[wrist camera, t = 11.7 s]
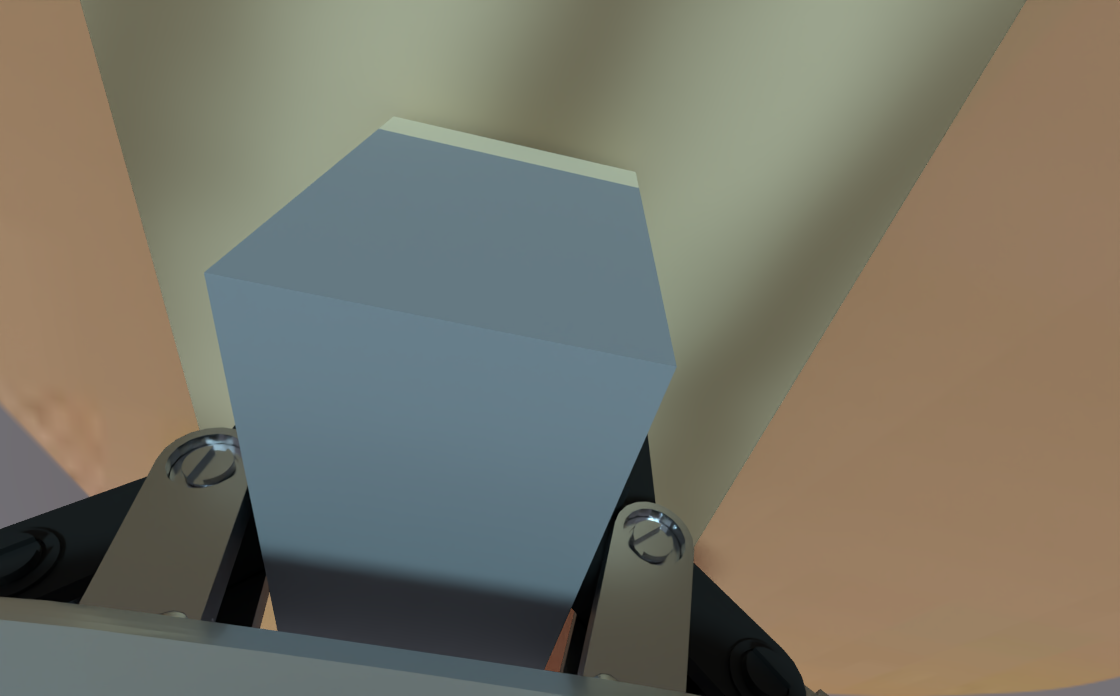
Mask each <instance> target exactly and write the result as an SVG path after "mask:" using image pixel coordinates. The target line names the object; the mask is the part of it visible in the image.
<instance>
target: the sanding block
mask: <svg viewBox="0 0 1120 696" xmlns="http://www.w3.org/2000/svg"><path fill="white" fill-rule="evenodd" d="M204 276H205V280H206V285H207V290H208V295H209V300H210V305H211V310H212V314H213V319H214V324H215V329H216V334H217V339H218V344H219V348H220V353H221V358H222V363H223V368H224V373H225V377H226V382H227V387H228V392H229V397H230V402H231V407H232V411H233V416H234V421H235V426H236V431H237V436H238V441H239V445H240V450H241V455H242V460H243V465H244V470H245V475H246V479H247V484H248V489H249V494H250V499H251V504H252V509H253V513H254V518H255V523H256V528H257V533H258V538H259V543H260V547H261V552H262V557H263V562H264V567H265V572H266V577H267V581H268V586H269V591H270V596H271V601H272V606H273V611H274V615H275V620H276V625H277V630H278V631H280V632H287V633H294V634H301V635H308V636H315V637H322V638H329V639H336V640H343V641H350V642H357V643H363V644H370V645H377V646H384V647H391V648H398V649H405V650H412V651H418V652H425V653H432V654H439V655H446V656H453V657H459V658H466V659H473V660H480V661H486V662H493V663H500V664H506V665H513V666H520V667H526V668H533V669H539V670H544V669H545V666H546V664H547V662H548V660H549V657H550V655H551V653H552V650H553V648H554V646H555V644H556V641H557V639H558V637H559V634H560V632H561V630H562V628H563V625H564V623H565V621H566V619H567V616H568V614H569V612H570V609H571V607H572V605H573V603H574V600H575V598H576V596H577V593H578V591H579V589H580V587H581V584H582V582H583V580H584V577H585V575H586V573H587V571H588V568H589V566H590V564H591V561H592V559H593V557H594V555H595V552H596V550H597V548H598V545H599V543H600V541H601V539H602V536H603V534H604V532H605V529H606V527H607V525H608V523H609V520H610V518H611V516H612V513H613V511H614V509H615V507H616V504H617V502H618V500H619V497H620V495H621V493H622V491H623V488H624V486H625V484H626V481H627V479H628V477H629V475H630V472H631V470H632V468H633V465H634V463H635V461H636V459H637V456H638V454H639V452H640V450H641V447H642V445H643V443H644V440H645V438H646V436H647V434H648V431H649V429H650V427H651V424H652V422H653V420H654V418H655V415H656V413H657V411H658V408H659V406H660V404H661V402H662V399H663V397H664V395H665V392H666V390H667V388H668V386H669V383H670V381H671V379H672V376H673V374H674V372H675V370H676V367H677V366H676V361H675V356H674V351H673V347H672V342H671V337H670V332H669V328H668V323H667V318H666V313H665V309H664V304H663V299H662V295H661V290H660V285H659V280H658V276H657V271H656V266H655V261H654V257H653V252H652V247H651V242H650V238H649V233H648V228H647V223H646V219H645V214H644V209H643V204H642V200H641V195H640V190H639V185H638V181H637V176H636V172H633V171H629V170H625V169H620V168H616V167H612V166H607V165H603V164H599V163H594V162H590V161H585V160H581V159H577V158H572V157H568V156H564V155H559V154H555V153H551V152H546V151H542V150H538V149H533V148H529V147H525V146H520V145H516V144H512V143H507V142H503V141H499V140H494V139H490V138H486V137H481V136H477V135H473V134H468V133H464V132H460V131H455V130H451V129H447V128H442V127H438V126H434V125H429V124H425V123H421V122H416V121H412V120H408V119H403V118H399V117H395V116H394V117H392V118H391V119H390V120H389V121H387V122H386V123H385V124H384V125H383V126H381V127H380V128H379V129H378V130H377V131H375V132H374V133H373V134H372V135H370V136H369V137H368V138H367V139H366V140H364V141H363V142H362V143H361V144H360V145H358V146H357V147H356V148H355V149H353V150H352V151H351V152H350V153H349V154H347V155H346V156H345V157H344V158H342V159H341V160H340V161H339V162H338V163H336V164H335V165H334V166H333V167H332V168H330V169H329V170H328V171H327V172H325V173H324V174H323V175H322V176H321V177H319V178H318V179H317V180H316V181H315V182H313V183H312V184H311V185H310V186H308V187H307V188H306V189H305V190H304V191H302V192H301V193H300V194H299V195H298V196H296V197H295V198H294V199H293V200H291V201H290V202H289V203H288V204H287V205H285V206H284V207H283V208H282V209H281V210H279V211H278V212H277V213H276V214H274V215H273V216H272V217H271V218H270V219H268V220H267V221H266V222H265V223H263V224H262V225H261V226H260V227H259V228H257V229H256V230H255V231H254V232H253V233H251V234H250V235H249V236H248V237H246V238H245V239H244V240H243V241H242V242H240V243H239V244H238V245H237V246H236V247H234V248H233V249H232V250H231V251H229V252H228V253H227V254H226V255H225V256H223V257H222V258H221V259H220V260H219V261H217V262H216V263H215V264H214V265H212V266H211V267H210V268H209V269H208V270H206V271H205V272H204Z"/></svg>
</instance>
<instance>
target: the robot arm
mask: <svg viewBox="0 0 1120 696" xmlns="http://www.w3.org/2000/svg"><path fill="white" fill-rule="evenodd" d="M693 561H694V545H693V538H692V536H691V534H690V531H689V529H688V527H687V526H686V525H685V523H684V522H683V521H682V520H681V518H680V517H678V516H677V515H676V514H675V513H673V512H672V511H671V510H669V509H667V508H665V507H663V506H661V505H659V504H656V501H655V493H654V484H653V476H652V467H651V459H650V450H649V441H648V434H647V436H646V438H645V440H644V443H643V445H642V447H641V450H640V452H639V454H638V456H637V459H636V461H635V463H634V465H633V468H632V470H631V472H630V475H629V477H628V479H627V481H626V484H625V486H624V488H623V491H622V493H621V495H620V497H619V500H618V502H617V504H616V507H615V509H614V511H613V513H612V516H611V518H610V520H609V523H608V525H607V527H606V529H605V532H604V534H603V536H602V539H601V541H600V543H599V545H598V548H597V550H596V552H595V555H594V557H593V559H592V561H591V564H590V566H589V568H588V571H587V573H586V575H585V577H584V580H583V582H582V584H581V587H580V589H579V591H578V593H577V596H576V598H575V600H574V603H573V605H572V607H571V608H572V609H573V610H574V611H575V612H574V615H573V619H572V623H571V627H570V631H569V636H568V640H567V644H566V648H565V652H564V656H563V660H562V664H561V668H560V672H553V671H546V670H539V669H533V668H526V667H520V666H513V665H506V664H500V663H493V662H486V661H480V660H473V659H466V658H459V657H453V656H446V655H439V654H432V653H425V652H418V651H412V650H405V649H398V648H391V647H384V646H377V645H370V644H363V643H357V642H350V641H343V640H336V639H329V638H322V637H315V636H308V635H301V634H294V633H287V632H280V631H273V630H266V629H260V626H261V622H262V618H263V615H264V611H265V607H266V603H267V600H268V596H269V592H270V591H269V586H268V581H267V577H266V572H265V567H264V562H263V557H262V552H261V547H260V543H259V538H258V533H257V528H256V523H255V518H254V513H253V509H252V504H251V499H250V494H249V489H248V484H247V479H246V475H245V470H244V465H243V460H242V455H241V450H240V445H239V441H238V436H237V431H236V426H234V427H233V428H232V429H231V428H223V427H219V428H206V429H203V430H199V431H195V432H191V433H189V434H187V435H185V436H183V437H181V438H178V439H176V440H175V441H174V442H173V443H171V444H170V445H169V446H167V447H166V448H165V449H164V450H163V451H162V453H161V454H160V455H159V456H158V458H157V459H156V461H155V463H154V465H153V467H152V468H151V470H150V472H149V474H148V476H147V477H145V478H142V479H139V480H136V481H133V482H131V483H128V484H125V485H122V486H119V487H117V488H114V489H111V490H108V491H105V492H103V493H100V494H97V495H94V496H91V497H89V498H86V499H83V500H80V501H77V502H75V503H72V504H69V505H66V506H63V507H61V508H58V509H55V510H52V511H49V512H47V513H44V514H41V515H38V516H35V517H33V518H30V519H27V520H24V521H22V522H19V523H16V524H13V525H10V526H8V527H5V528H2V529H0V696H829V695H827V694H826V693H825V692H823V691H822V690H821V689H820V690H818V691H817V692H816V693H814V692H813V691H812V690H810V689H809V688H808V687H807V686H805V685H804V683H803V679H802V676H801V674H800V673H799V671H798V669H797V667H796V665H795V663H794V662H793V661H792V659H791V658H790V657H789V656H788V655H787V653H786V652H785V651H784V650H783V649H782V648H781V647H780V646H779V645H778V644H777V643H776V642H775V641H774V640H773V639H772V638H771V637H770V636H769V635H768V634H767V633H766V632H765V631H764V630H763V629H762V628H761V627H759V626H758V625H757V624H756V623H755V622H754V621H753V620H752V619H751V618H750V617H749V616H748V615H747V614H746V613H745V612H744V611H743V610H742V609H741V608H740V607H739V606H738V605H737V604H736V603H735V602H734V601H733V600H732V599H731V598H730V597H728V596H727V595H726V594H725V593H724V592H723V591H722V590H721V589H720V588H719V587H718V586H717V585H716V584H715V583H714V582H713V581H712V580H711V579H710V578H709V577H708V576H707V575H706V574H705V573H704V572H703V571H702V570H701V569H700V568H699V567H697V566H696V565H695V564H694V563H693Z"/></svg>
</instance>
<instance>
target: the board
mask: <svg viewBox="0 0 1120 696" xmlns="http://www.w3.org/2000/svg"><path fill="white" fill-rule="evenodd" d="M80 2H81V5H82V9H83V13H84V16H85V20H86V23H87V27H88V30H89V34H90V38H91V41H92V45H93V48H94V52H95V56H96V59H97V63H98V66H99V70H100V74H101V77H102V81H103V84H104V88H105V92H106V95H107V99H108V102H109V106H110V110H111V113H112V117H113V120H114V124H115V127H116V131H117V135H118V138H119V142H120V145H121V149H122V153H123V156H124V160H125V163H126V167H127V171H128V174H129V178H130V181H131V185H132V189H133V192H134V196H135V199H136V203H137V206H138V210H139V214H140V217H141V221H142V224H143V228H144V232H145V235H146V239H147V242H148V246H149V250H150V253H151V257H152V260H153V264H154V268H155V271H156V275H157V278H158V282H159V286H160V289H161V293H162V296H163V300H164V303H165V307H166V311H167V314H168V318H169V321H170V325H171V329H172V332H173V336H174V339H175V343H176V347H177V350H178V354H179V357H180V361H181V365H182V368H183V372H184V375H185V379H186V382H187V386H188V390H189V393H190V397H191V400H192V404H193V408H194V411H195V415H196V418H197V422H198V426H199V429H200V430H203V429H206V428H219V427H223V428H231V429H232V428H233V427H234V426H235V421H234V416H233V411H232V407H231V402H230V397H229V392H228V387H227V382H226V377H225V373H224V368H223V363H222V358H221V353H220V348H219V344H218V339H217V334H216V329H215V324H214V319H213V314H212V310H211V305H210V300H209V295H208V290H207V285H206V280H205V276H204V272H205V271H206V270H208V269H209V268H210V267H211V266H212V265H214V264H215V263H216V262H217V261H219V260H220V259H221V258H222V257H223V256H225V255H226V254H227V253H228V252H229V251H231V250H232V249H233V248H234V247H236V246H237V245H238V244H239V243H240V242H242V241H243V240H244V239H245V238H246V237H248V236H249V235H250V234H251V233H253V232H254V231H255V230H256V229H257V228H259V227H260V226H261V225H262V224H263V223H265V222H266V221H267V220H268V219H270V218H271V217H272V216H273V215H274V214H276V213H277V212H278V211H279V210H281V209H282V208H283V207H284V206H285V205H287V204H288V203H289V202H290V201H291V200H293V199H294V198H295V197H296V196H298V195H299V194H300V193H301V192H302V191H304V190H305V189H306V188H307V187H308V186H310V185H311V184H312V183H313V182H315V181H316V180H317V179H318V178H319V177H321V176H322V175H323V174H324V173H325V172H327V171H328V170H329V169H330V168H332V167H333V166H334V165H335V164H336V163H338V162H339V161H340V160H341V159H342V158H344V157H345V156H346V155H347V154H349V153H350V152H351V151H352V150H353V149H355V148H356V147H357V146H358V145H360V144H361V143H362V142H363V141H364V140H366V139H367V138H368V137H369V136H370V135H372V134H373V133H374V132H375V131H377V130H378V129H379V128H380V127H381V126H383V125H384V124H385V123H386V122H387V121H389V120H390V119H391V118H392V117H394V116H395V117H399V118H403V119H408V120H412V121H416V122H421V123H425V124H429V125H434V126H438V127H442V128H447V129H451V130H455V131H460V132H464V133H468V134H473V135H477V136H481V137H486V138H490V139H494V140H499V141H503V142H507V143H512V144H516V145H520V146H525V147H529V148H533V149H538V150H542V151H546V152H551V153H555V154H559V155H564V156H568V157H572V158H577V159H581V160H585V161H590V162H594V163H599V164H603V165H607V166H612V167H616V168H620V169H625V170H629V171H633V172H636V176H637V181H638V185H639V190H640V195H641V200H642V204H643V209H644V214H645V219H646V223H647V228H648V233H649V238H650V242H651V247H652V252H653V257H654V261H655V266H656V271H657V276H658V280H659V285H660V290H661V295H662V299H663V304H664V309H665V313H666V318H667V323H668V328H669V332H670V337H671V342H672V347H673V351H674V356H675V361H676V366H677V367H676V370H675V372H674V374H673V376H672V379H671V381H670V383H669V386H668V388H667V390H666V392H665V395H664V397H663V399H662V402H661V404H660V406H659V408H658V411H657V413H656V415H655V418H654V420H653V422H652V424H651V427H650V429H649V431H648V441H649V450H650V459H651V467H652V476H653V484H654V493H655V501H656V504H659V505H661V506H663V507H665V508H667V509H669V510H671V511H672V512H673V513H675V514H676V515H677V516H678V517H680V518H681V520H682V521H683V522H684V523H685V525H686V526H687V527H688V529H689V531H690V534H691V536H692V538H693V545H694V546H695V544H696V543H697V541H698V539H699V538H700V536H701V535H702V533H703V531H704V530H705V528H706V526H707V525H708V523H709V521H710V520H711V518H712V516H713V515H714V513H715V511H716V510H717V508H718V507H719V505H720V503H721V502H722V500H723V498H724V497H725V495H726V493H727V492H728V490H729V488H730V487H731V485H732V484H733V482H734V480H735V479H736V477H737V475H738V474H739V472H740V470H741V469H742V467H743V465H744V464H745V462H746V461H747V459H748V457H749V456H750V454H751V452H752V451H753V449H754V447H755V446H756V444H757V442H758V441H759V439H760V438H761V436H762V434H763V433H764V431H765V429H766V428H767V426H768V424H769V423H770V421H771V419H772V418H773V416H774V415H775V413H776V411H777V410H778V408H779V406H780V405H781V403H782V401H783V400H784V398H785V396H786V395H787V393H788V392H789V390H790V388H791V387H792V385H793V383H794V382H795V380H796V378H797V377H798V375H799V373H800V372H801V370H802V369H803V367H804V365H805V364H806V362H807V360H808V359H809V357H810V355H811V354H812V352H813V350H814V349H815V347H816V345H817V344H818V342H819V341H820V339H821V337H822V336H823V334H824V332H825V331H826V329H827V327H828V326H829V324H830V322H831V321H832V319H833V318H834V316H835V314H836V313H837V311H838V309H839V308H840V306H841V304H842V303H843V301H844V299H845V298H846V296H847V295H848V293H849V291H850V290H851V288H852V286H853V285H854V283H855V281H856V280H857V278H858V276H859V275H860V273H861V272H862V270H863V268H864V267H865V265H866V263H867V262H868V260H869V258H870V257H871V255H872V253H873V252H874V250H875V249H876V247H877V245H878V244H879V242H880V240H881V239H882V237H883V235H884V234H885V232H886V230H887V229H888V227H889V226H890V224H891V222H892V221H893V219H894V217H895V216H896V214H897V212H898V211H899V209H900V207H901V206H902V204H903V202H904V201H905V199H906V198H907V196H908V194H909V193H910V191H911V189H912V188H913V186H914V184H915V183H916V181H917V179H918V178H919V176H920V175H921V173H922V171H923V170H924V168H925V166H926V165H927V163H928V161H929V160H930V158H931V156H932V155H933V153H934V152H935V150H936V148H937V147H938V145H939V143H940V142H941V140H942V138H943V137H944V135H945V133H946V132H947V130H948V129H949V127H950V125H951V124H952V122H953V120H954V119H955V117H956V115H957V114H958V112H959V110H960V109H961V107H962V106H963V104H964V102H965V101H966V99H967V97H968V96H969V94H970V92H971V91H972V89H973V87H974V86H975V84H976V83H977V81H978V79H979V78H980V76H981V74H982V73H983V71H984V69H985V68H986V66H987V64H988V63H989V61H990V60H991V58H992V56H993V55H994V53H995V51H996V50H997V48H998V46H999V45H1000V43H1001V41H1002V40H1003V38H1004V36H1005V35H1006V33H1007V32H1008V30H1009V28H1010V27H1011V25H1012V23H1013V22H1014V20H1015V18H1016V17H1017V15H1018V13H1019V12H1020V10H1021V9H1022V7H1023V5H1024V4H1025V2H1026V0H80Z"/></svg>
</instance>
